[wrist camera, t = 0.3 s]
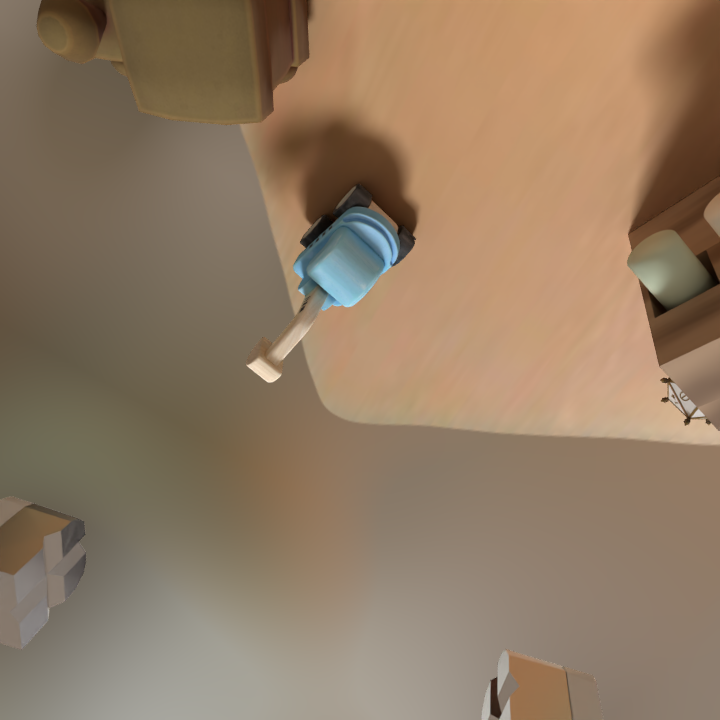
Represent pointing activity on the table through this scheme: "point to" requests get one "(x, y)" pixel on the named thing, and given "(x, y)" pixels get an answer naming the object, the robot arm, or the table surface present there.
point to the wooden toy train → (186, 51)
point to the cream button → (713, 214)
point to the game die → (682, 402)
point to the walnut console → (689, 306)
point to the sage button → (669, 269)
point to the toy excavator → (336, 269)
